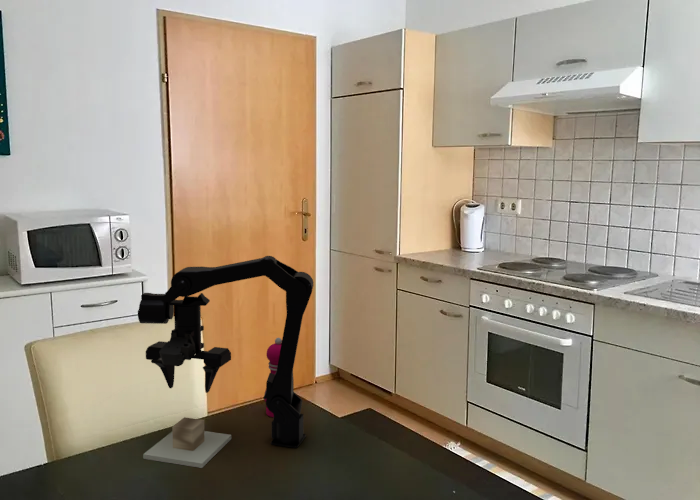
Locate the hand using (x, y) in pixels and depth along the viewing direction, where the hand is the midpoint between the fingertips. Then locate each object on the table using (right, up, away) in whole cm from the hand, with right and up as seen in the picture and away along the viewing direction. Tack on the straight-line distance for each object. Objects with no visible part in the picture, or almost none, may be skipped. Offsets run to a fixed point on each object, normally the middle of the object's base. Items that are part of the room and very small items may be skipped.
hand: (189, 390), depth 137 cm
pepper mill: (+18, -10, +18) cm, 27 cm away
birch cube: (+1, -12, -3) cm, 12 cm away
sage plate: (+1, -13, -3) cm, 13 cm away
